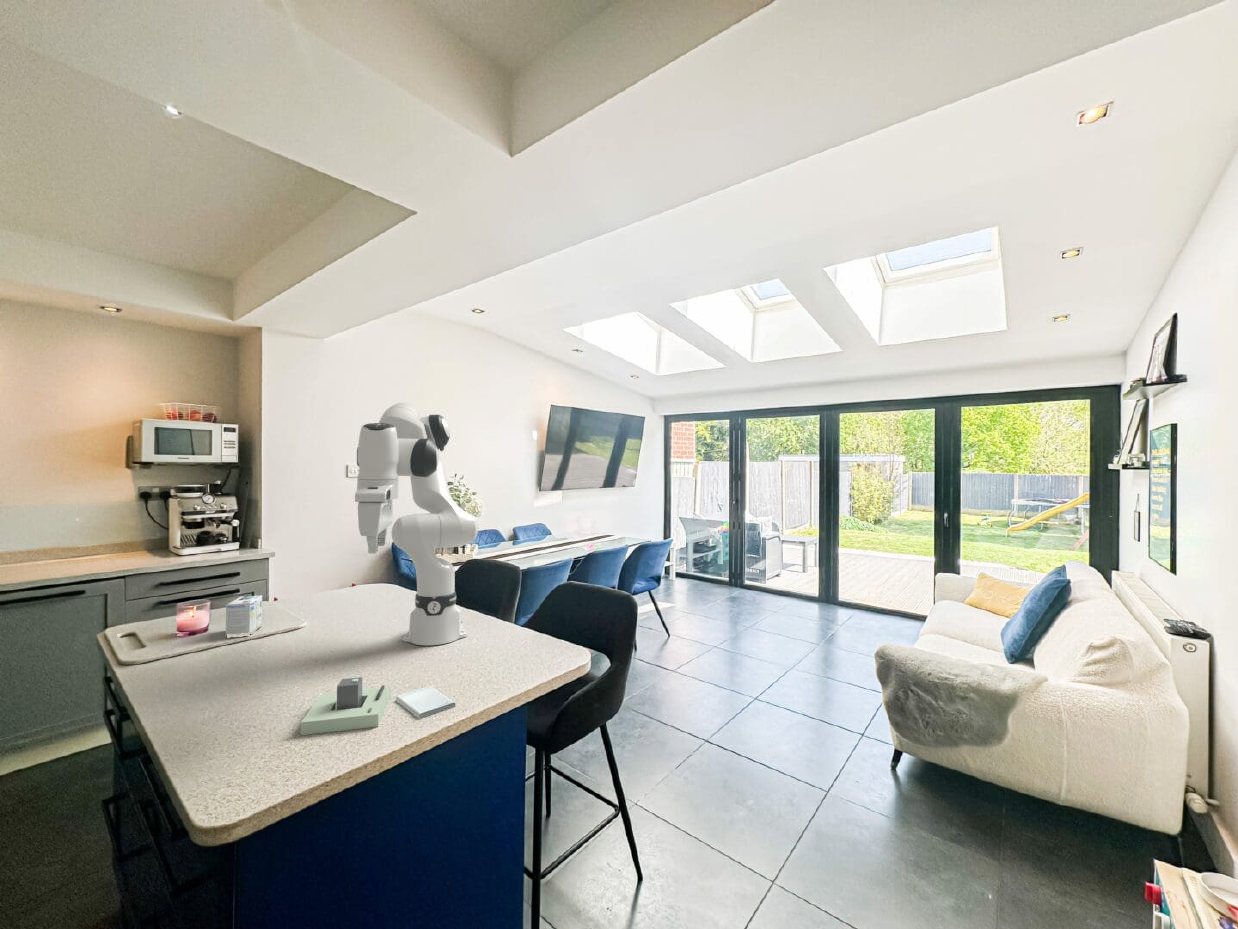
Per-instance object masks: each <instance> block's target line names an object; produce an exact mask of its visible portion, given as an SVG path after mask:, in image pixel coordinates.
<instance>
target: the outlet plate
mask: <svg viewBox="0 0 1238 929" xmlns="http://www.w3.org/2000/svg"><path fill="white" fill-rule="evenodd" d="M391 688H392V686H391V685H388V686H385V685H381V686H380V687H379V686H378V687H377V686H376V687H369V688H362V708H352V709H343V710H337V690H336V691H335V690H334V691H325V692H322V694H321V695H320V696H319V697H318V699H317V700H316V701H315V703H314V704H313V705H312V707H311V708H310V710H309V711H308V712H307V714H306V715H304V718H303V719H302V720H301V721H300V736H305V735H315V734H323V733H331V732H332V733H333V732H341V731H349V730H351V731H352V730H357V729H358V730H359V729H367V728H377V727H379V726H380V723H381V721H382V719H383V716H384V714H385V711H386V709H387V707H388V704H389V702H390V700H391V697H392V696H391V695H392V690H391Z"/></svg>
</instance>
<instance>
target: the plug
mask: <svg viewBox="0 0 1238 929" xmlns="http://www.w3.org/2000/svg"><path fill="white" fill-rule="evenodd" d="M362 689H363V676H361V677H351V678H341V680H340V682H339V683H338V684H337V687H336V691H337V710H343V709H352V708H362Z"/></svg>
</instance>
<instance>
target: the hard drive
mask: <svg viewBox="0 0 1238 929" xmlns="http://www.w3.org/2000/svg"><path fill="white" fill-rule="evenodd" d="M395 701H396V702H397V703H398V704H400V705H401V706H402V705H403V706H402V707H403V708H405V709H406V710H407V711H408V712H409V713H411V714H412V713H413V714H412V715H414V716H415V717H416V718H417V719H419V720H421V719H424V718H427V717H430V716H432V715H436V714H437V713H441V712H444V711H446V710H450V709H452V708H456V704H457V703H456V701H453V700H452V699H450V698H449V697H448V696H446V695H445V694H443V693H441V692H440V691H439V690H437V689H436V688H434V687H432V686H431V685H428V686H424V687H422V688H418V689H414V690H411V691H408V692H405V693H402V694H399V695H396V696H395Z"/></svg>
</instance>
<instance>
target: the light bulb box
mask: <svg viewBox="0 0 1238 929" xmlns="http://www.w3.org/2000/svg"><path fill="white" fill-rule="evenodd" d="M262 617H263V595H246V596H239V597H237V598H236V599H233V600H232V601H231V602H228V603H227V604H225V636H226V635H227V634H241V633H248V632H252V631H253V630H254V629H255V628H256V627H258V626H260V625H261V624H263V620H262Z"/></svg>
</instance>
